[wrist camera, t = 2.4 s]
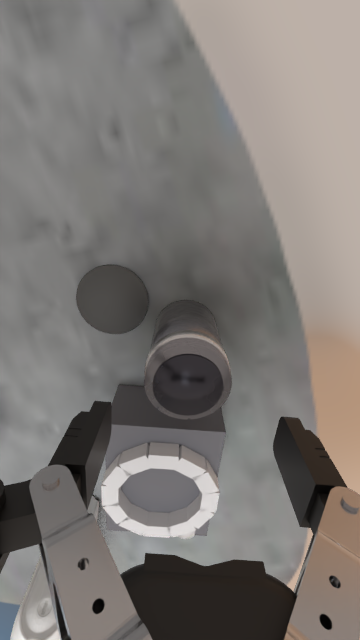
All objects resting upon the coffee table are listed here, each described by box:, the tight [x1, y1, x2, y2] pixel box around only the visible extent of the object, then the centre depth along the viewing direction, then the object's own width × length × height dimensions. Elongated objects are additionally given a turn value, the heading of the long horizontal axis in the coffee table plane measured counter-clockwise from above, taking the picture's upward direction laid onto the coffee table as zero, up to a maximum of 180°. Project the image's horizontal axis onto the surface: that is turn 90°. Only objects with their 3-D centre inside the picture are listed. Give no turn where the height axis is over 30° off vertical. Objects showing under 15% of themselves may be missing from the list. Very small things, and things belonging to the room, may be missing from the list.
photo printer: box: [10, 496, 99, 640], centre depth 27 cm, size 10×4×12 cm, turn 165°
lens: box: [144, 300, 232, 419], centre depth 20 cm, size 5×5×8 cm
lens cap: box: [76, 265, 148, 334], centre depth 23 cm, size 6×6×1 cm
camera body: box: [101, 385, 226, 539], centre depth 25 cm, size 9×12×6 cm
